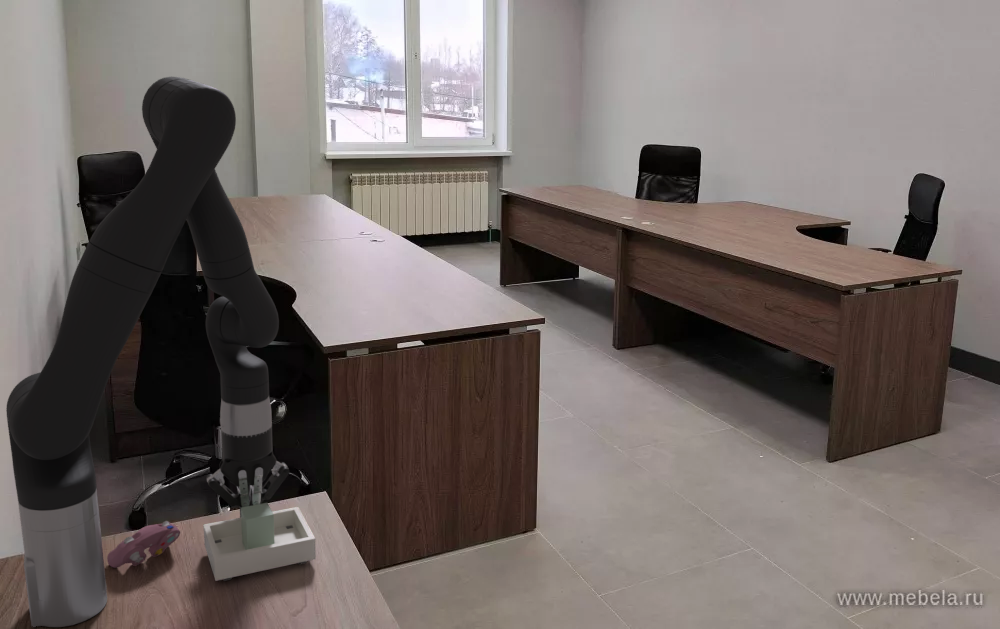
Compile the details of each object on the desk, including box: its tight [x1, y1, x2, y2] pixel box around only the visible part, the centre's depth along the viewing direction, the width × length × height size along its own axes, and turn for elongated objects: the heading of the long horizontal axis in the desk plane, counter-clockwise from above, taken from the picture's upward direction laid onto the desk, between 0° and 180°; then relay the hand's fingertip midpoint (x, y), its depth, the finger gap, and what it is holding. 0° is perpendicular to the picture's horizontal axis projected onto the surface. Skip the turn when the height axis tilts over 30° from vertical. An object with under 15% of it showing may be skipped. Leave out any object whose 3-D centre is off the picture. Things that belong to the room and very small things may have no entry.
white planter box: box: [202, 506, 317, 582], centre depth 127 cm, size 15×11×5 cm
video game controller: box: [106, 520, 181, 569], centre depth 125 cm, size 10×5×7 cm, turn 144°
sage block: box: [241, 502, 275, 550], centre depth 126 cm, size 4×4×6 cm
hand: (250, 524), depth 132 cm, fingers closed
